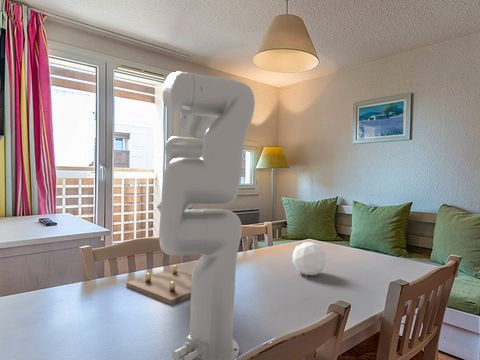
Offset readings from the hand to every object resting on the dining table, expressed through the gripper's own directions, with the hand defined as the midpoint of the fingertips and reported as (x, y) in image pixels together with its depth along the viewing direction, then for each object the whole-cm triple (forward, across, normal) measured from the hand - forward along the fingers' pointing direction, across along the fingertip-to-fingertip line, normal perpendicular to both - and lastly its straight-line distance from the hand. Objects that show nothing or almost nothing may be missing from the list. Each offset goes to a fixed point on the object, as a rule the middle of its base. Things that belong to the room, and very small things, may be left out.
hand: (175, 227), depth 107 cm
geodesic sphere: (+20, +45, -30) cm, 58 cm away
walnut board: (+20, 0, 0) cm, 20 cm away
